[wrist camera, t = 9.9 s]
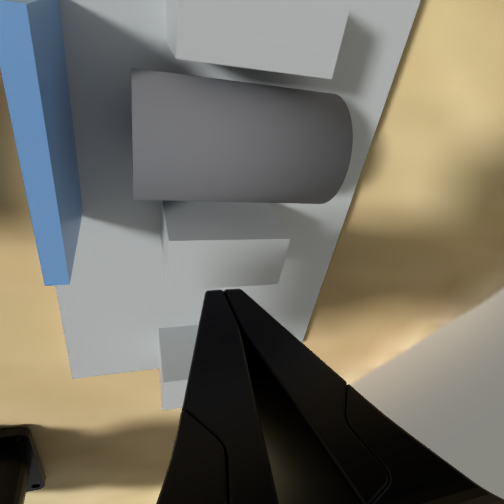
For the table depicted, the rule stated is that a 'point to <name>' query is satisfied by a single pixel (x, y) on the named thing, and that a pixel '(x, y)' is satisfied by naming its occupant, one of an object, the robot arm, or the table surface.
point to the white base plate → (177, 212)
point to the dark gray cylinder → (235, 140)
